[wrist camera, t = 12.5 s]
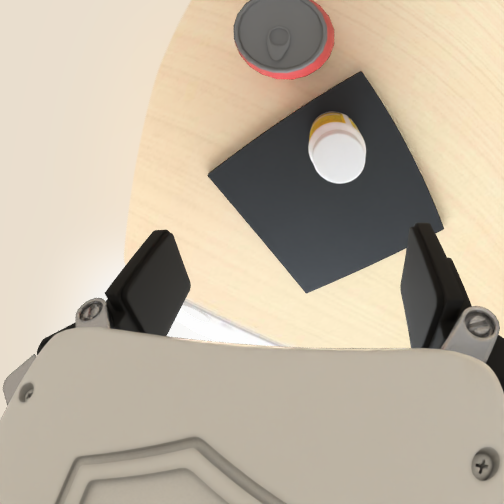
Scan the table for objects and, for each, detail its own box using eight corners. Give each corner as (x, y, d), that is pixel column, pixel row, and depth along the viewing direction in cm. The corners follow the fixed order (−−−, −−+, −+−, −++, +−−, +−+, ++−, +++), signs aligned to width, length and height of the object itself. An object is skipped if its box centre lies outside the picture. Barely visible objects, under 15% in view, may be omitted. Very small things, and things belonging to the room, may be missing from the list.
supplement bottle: (302, 142, 29) (295, 169, 22) (323, 102, 26) (324, 115, 19) (344, 164, 29) (350, 198, 22) (366, 126, 26) (382, 148, 19)
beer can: (256, 69, 26) (218, 73, 16) (265, 10, 22) (232, -20, 12) (323, 81, 25) (326, 91, 15) (334, 21, 21) (344, -6, 11)
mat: (208, 173, 33) (207, 175, 33) (360, 71, 23) (361, 71, 23) (306, 290, 40) (306, 293, 40) (442, 226, 30) (444, 229, 30)
